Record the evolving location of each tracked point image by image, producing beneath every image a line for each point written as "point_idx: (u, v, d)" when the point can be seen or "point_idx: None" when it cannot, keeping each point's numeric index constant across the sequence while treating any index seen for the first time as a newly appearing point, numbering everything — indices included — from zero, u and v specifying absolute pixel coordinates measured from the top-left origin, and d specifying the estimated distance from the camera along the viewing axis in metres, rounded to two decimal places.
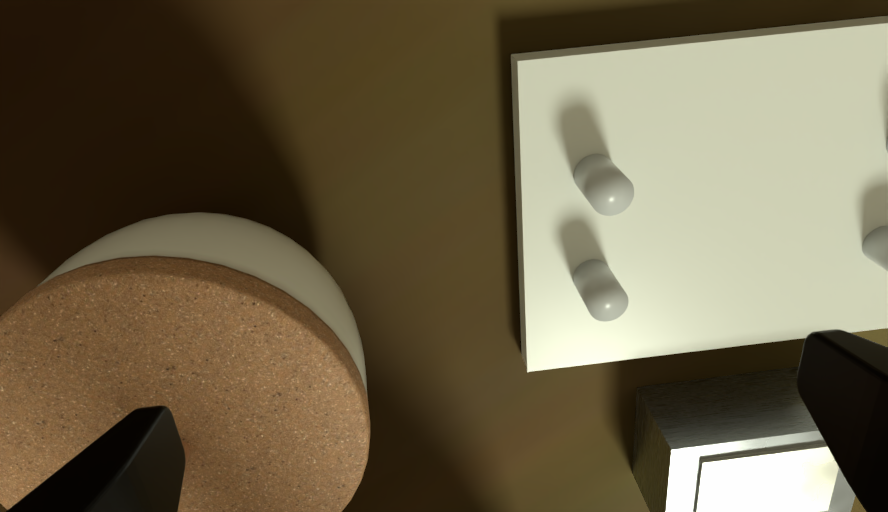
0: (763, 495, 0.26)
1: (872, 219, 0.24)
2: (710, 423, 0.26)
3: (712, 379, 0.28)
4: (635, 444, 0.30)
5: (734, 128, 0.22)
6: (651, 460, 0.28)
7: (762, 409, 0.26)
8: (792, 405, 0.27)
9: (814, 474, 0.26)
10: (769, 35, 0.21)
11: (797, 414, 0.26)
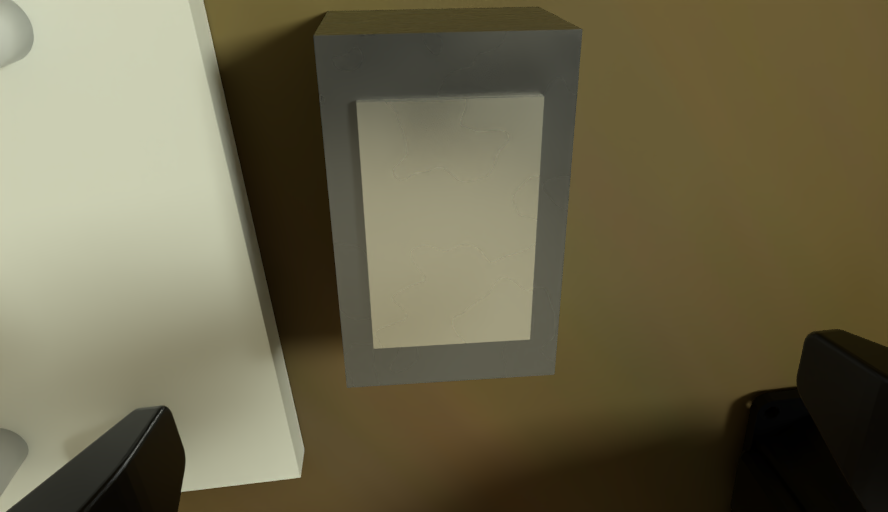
0: (471, 237, 0.14)
1: None
2: None
3: None
4: None
5: None
6: None
7: None
8: None
9: (432, 148, 0.13)
10: None
11: None
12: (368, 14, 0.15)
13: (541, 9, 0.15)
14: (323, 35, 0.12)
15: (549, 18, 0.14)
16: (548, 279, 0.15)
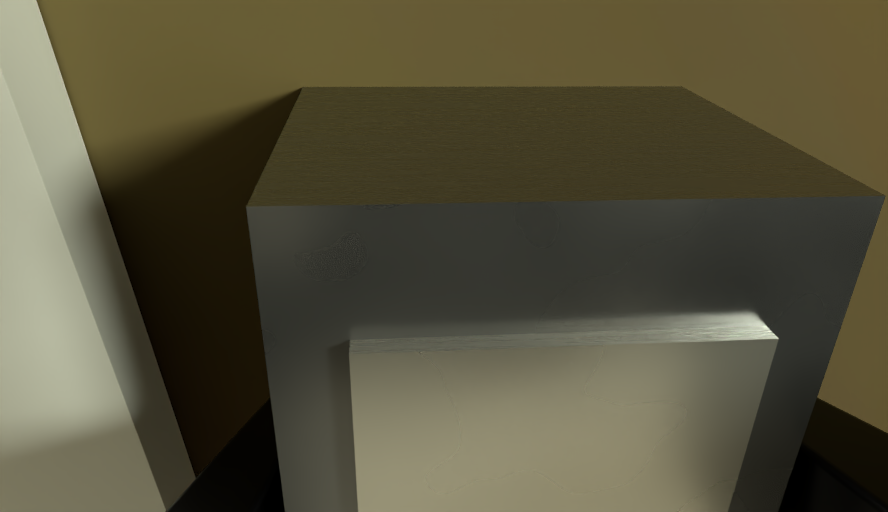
0: None
1: None
2: None
3: None
4: None
5: None
6: None
7: None
8: None
9: (516, 437, 0.06)
10: None
11: None
12: (378, 106, 0.08)
13: (702, 100, 0.08)
14: (272, 204, 0.05)
15: (752, 136, 0.07)
16: None
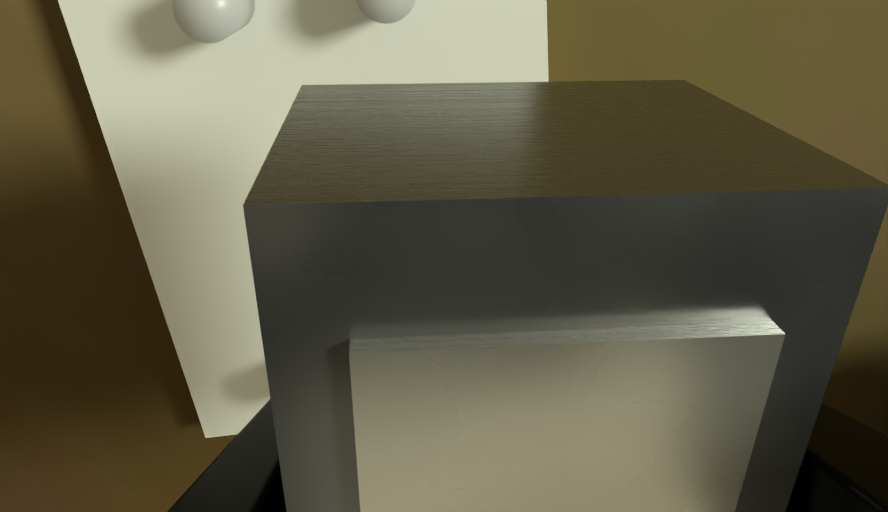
0: None
1: (348, 12, 0.17)
2: None
3: None
4: None
5: (242, 234, 0.19)
6: None
7: None
8: None
9: (519, 436, 0.06)
10: (133, 219, 0.19)
11: None
12: (377, 103, 0.07)
13: (705, 93, 0.08)
14: (268, 203, 0.05)
15: (756, 129, 0.07)
16: None
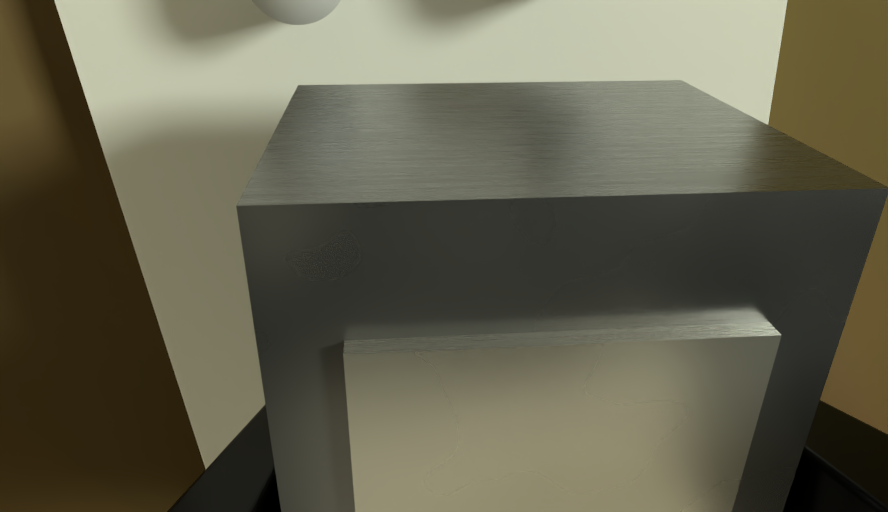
0: None
1: None
2: None
3: None
4: None
5: None
6: None
7: None
8: None
9: (514, 437, 0.06)
10: (148, 285, 0.13)
11: None
12: (373, 103, 0.07)
13: (703, 93, 0.08)
14: (262, 203, 0.05)
15: (753, 130, 0.07)
16: None
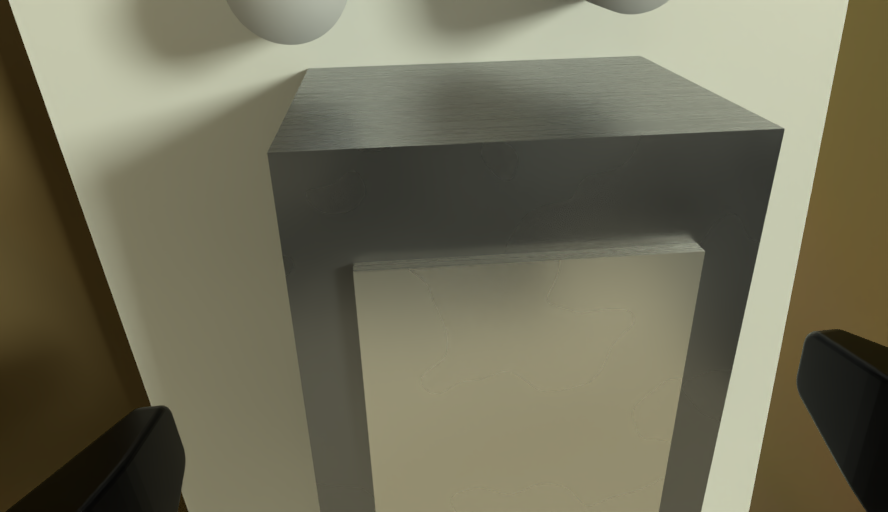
0: (556, 472, 0.08)
1: None
2: None
3: None
4: None
5: None
6: None
7: None
8: None
9: (493, 342, 0.07)
10: (126, 328, 0.11)
11: None
12: (373, 80, 0.09)
13: (656, 65, 0.09)
14: (287, 150, 0.06)
15: (690, 91, 0.08)
16: None
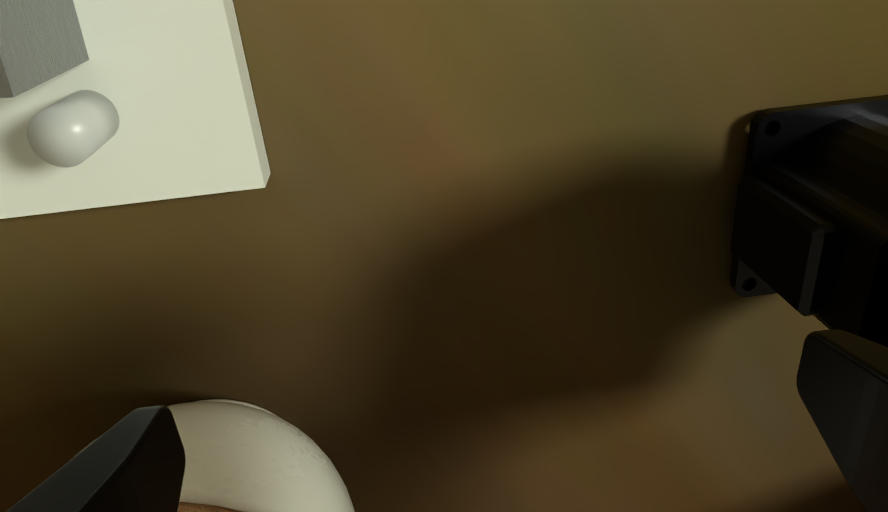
0: None
1: None
2: None
3: None
4: None
5: None
6: None
7: None
8: None
9: None
10: None
11: None
12: None
13: None
14: None
15: None
16: None
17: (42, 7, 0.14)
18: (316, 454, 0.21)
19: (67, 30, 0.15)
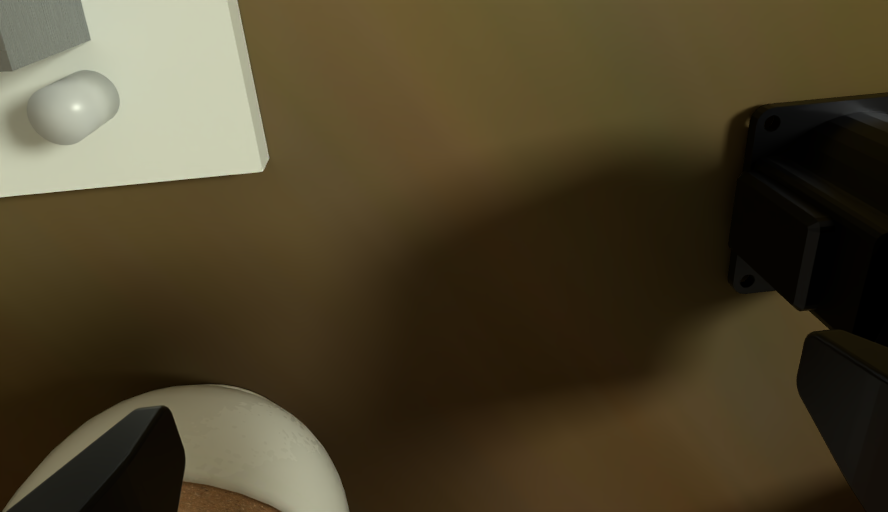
0: None
1: None
2: None
3: None
4: None
5: None
6: None
7: None
8: None
9: None
10: None
11: None
12: None
13: None
14: None
15: None
16: None
17: None
18: (309, 440, 0.21)
19: (69, 9, 0.16)
